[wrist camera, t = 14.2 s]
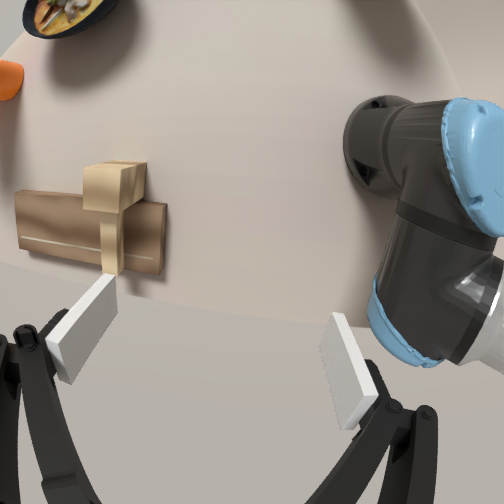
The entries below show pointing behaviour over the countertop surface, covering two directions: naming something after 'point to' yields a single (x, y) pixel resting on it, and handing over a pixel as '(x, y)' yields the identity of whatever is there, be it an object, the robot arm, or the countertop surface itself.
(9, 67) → the shaker bottle
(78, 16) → the bowl
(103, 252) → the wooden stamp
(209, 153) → the countertop surface
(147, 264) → the plank
